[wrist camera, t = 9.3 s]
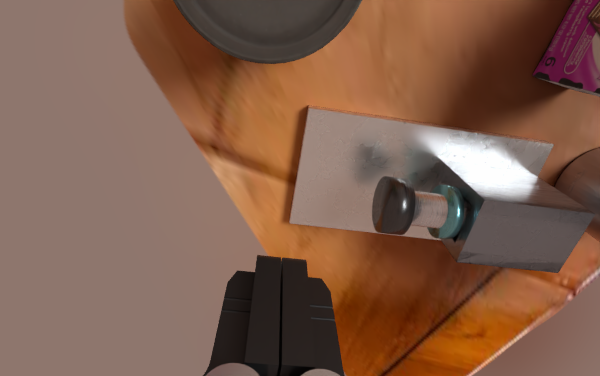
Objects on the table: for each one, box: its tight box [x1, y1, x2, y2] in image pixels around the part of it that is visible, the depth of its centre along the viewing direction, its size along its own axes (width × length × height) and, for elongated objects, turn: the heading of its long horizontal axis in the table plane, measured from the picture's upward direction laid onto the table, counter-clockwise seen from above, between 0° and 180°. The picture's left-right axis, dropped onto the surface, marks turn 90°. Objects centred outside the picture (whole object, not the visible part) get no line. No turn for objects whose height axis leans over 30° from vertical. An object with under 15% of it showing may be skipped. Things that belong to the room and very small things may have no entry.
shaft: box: [372, 176, 472, 239], centre depth 32 cm, size 18×5×5 cm, turn 81°
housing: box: [289, 105, 595, 273], centre depth 33 cm, size 26×13×10 cm, turn 81°
